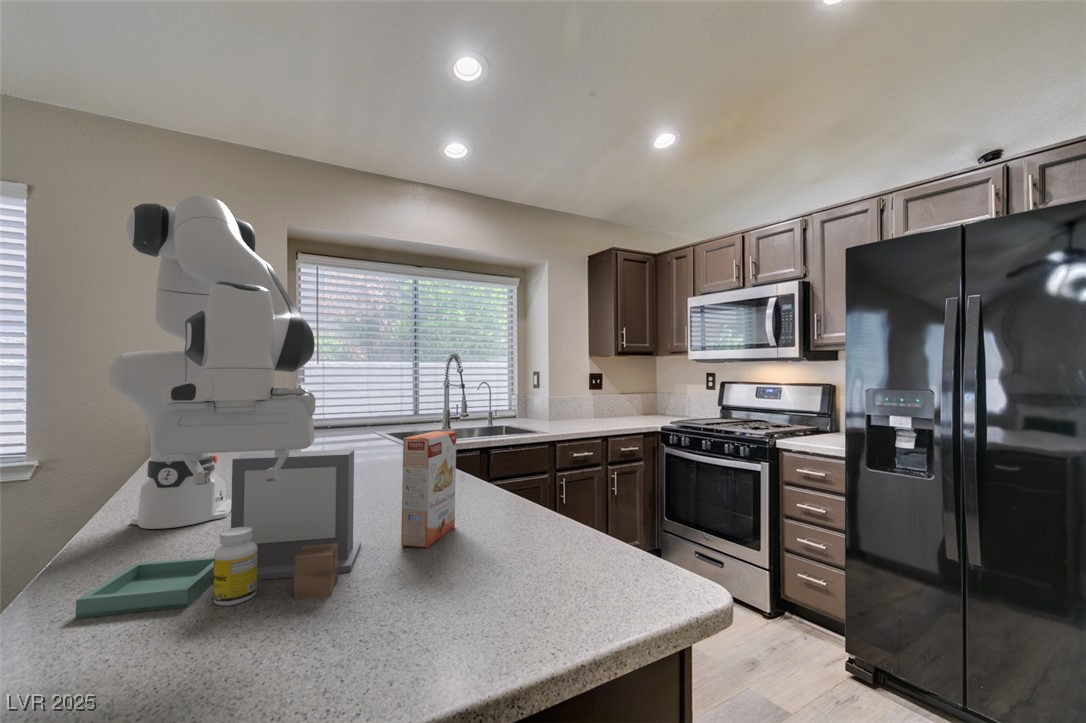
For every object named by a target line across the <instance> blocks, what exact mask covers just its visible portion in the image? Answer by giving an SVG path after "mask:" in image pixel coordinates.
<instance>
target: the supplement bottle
mask: <svg viewBox="0 0 1086 723" xmlns="http://www.w3.org/2000/svg"><path fill="white" fill-rule="evenodd" d="M251 539H252V528H250V527H236V528H231V527H230V528H228V529H224V530H222V531H221V532H220V534H219V544H220V545H221V546H219V547H218V548H217V549H216V550H215V551H214V554H213V557H214V582H213V583H212V585H213V590H212V592H213V593H212V595H213V597H212V598H213V599H212V600H213V604H215V605H218V606H220V607H221V606H224V607H225V606H235V605H238V604H241V603H244V602H247V601H249V600H250V599H253V597H254V596H255V595H256V594H257V591H258V580H257V545H256V543H254V542H252V541H250V540H251Z"/></svg>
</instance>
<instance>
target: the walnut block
mask: <svg viewBox="0 0 1086 723" xmlns="http://www.w3.org/2000/svg"><path fill="white" fill-rule="evenodd" d="M337 563H338V543H337V544H325V545H313V546H303V548H302V549H301V550H300V552H299V553H298V554H297V556H296V557H295V570H294V577H293V578H294V580H293V582H294V584H293V599H294V600H300V599H302V600H303V599H310V598H320V597H329V596H332V594H333V592H334V590H335V587H336V585H337V583H338V573H337Z"/></svg>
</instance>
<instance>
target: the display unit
mask: <svg viewBox="0 0 1086 723" xmlns="http://www.w3.org/2000/svg"><path fill="white" fill-rule="evenodd" d="M278 459H279V457H278V458H276V457H275V452H255V453H254V452H251V453H245V454H242V455H240V456H237V457H234V458H232V459H231V460H232V463H231V465H232V466H231V470H232V471H231V499H232V500H231V511H230V513H231V514H230V529H231V528H236V527H250V528H252V539H251V540H250V541H252V542H254V543H256V545H257V581H265V580H276V579H285V578H294V570H295V557H296V556H297V554H298V553H299V552H300V550H301V549H302V548H303V546H313V545H325V544H337V543H338V563H337V574H338V573H339V574H340V573H348V572H349V573H351V572H352V570H353V568H354V565H355V563H356V560H357V558H358V556H359V552H360V550H361V548H362V541H354V503H355V501H354V499H355V497H354V495H355V494H354V493H355V486H354V485H355V482H354V481H355V449H338V450H336V449H332V450H313V451H311V450H308V451H289V456H288V458H287V459H286V461H285V462H284V464H283V466H282V467H281V477H280V479H279V480H278V481H267V480H266V477H267V474H266V470H267V469H269V468H273V467H274V466H275V464H276V462H277V461H278Z"/></svg>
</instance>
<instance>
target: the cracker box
mask: <svg viewBox="0 0 1086 723" xmlns="http://www.w3.org/2000/svg"><path fill="white" fill-rule="evenodd" d="M402 444H403V445H402V446H403V448H402V486H401V487H402V488H401V490H402V493H401V496H402V497H401V530H400V531H401V538H400V546H401V547H414V548H422V549H423V548H425V549H427V548H429V547H430V546H432V544H434V543H435V542H436V541H438V540H439V539H440V538H441V537H443V536H444V535H445V534H447V533H448V532H449V531H451V530H453V528H455V525H456V524H455V522H456V515H455V514H456V480H457V479H456V475H457V474H456V469H457V468H456V467H457V432H456V431H452V430H450V431H448V430H447V431H445V430H434V431H429V432H425V433H420V434H416V435H411V436H408V437H403V443H402Z"/></svg>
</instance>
